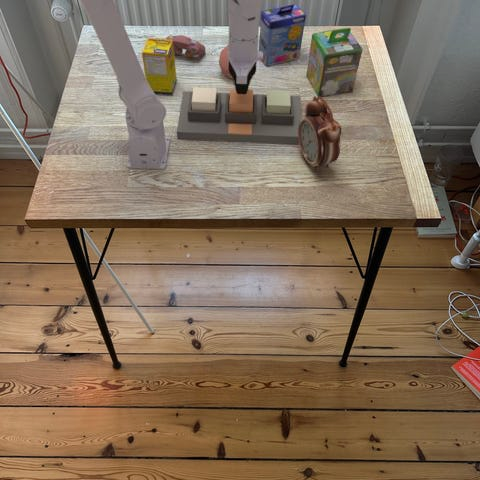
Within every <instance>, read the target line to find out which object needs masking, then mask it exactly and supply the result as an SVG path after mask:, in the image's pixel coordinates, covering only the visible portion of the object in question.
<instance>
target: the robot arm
mask: <svg viewBox="0 0 480 480" xmlns="http://www.w3.org/2000/svg"><path fill="white" fill-rule="evenodd" d="M79 1H80V3H81V4H82V6H83V9H84V11H85V14H86V15H87V17H88V19H89V21H90V24H91V26H92V28H93V29H94V31H95V32H94V33H95V34H96V36H97V38H98V40H99V42H100V45H101V47H102V49H103V51H104V53H105V55H106V57H107V59H108V62H109V63H110V66H111V68H112V70H113V72H114V74H115V76H116V77H115V78H116V79H115V80H116V82H117V83H118V91H117V92H118V97H119V99H120V100H121V101H122V103H124V105H125V107H126V109H125V116H124V117H125V120H126V122H125V123H126V126H127V132H128V138H127V143H126V147H127V151H128V153H127V154H128V156H127V161H126V164H125V165H126V168H129V169H130V168H131V169H132V168H133V169H151V170H153V169H154V170H155V169H156V170H164V169H166V167H167V166H166V165H167V161H168V154H169V148H170V142H171V137H170V136H166V134H165V126H164V120H165V118H166V116H167V115H166V114H167V108H166V106H165V105H164V103H163V102H161V101H160V99H159V98H158V95H157V94H155V93H154V92H153V90H152V89H151V87H150V85H149V84H148V82H147V80H146V77H145V72H144V71H143V68H142V66H141V64H140V62H139V59H138V57H137V54H136V51H135V49H134V47H133V44H132V42H131V40H130V37H129V35H128V33H127V30H126V27H125V25H124V22H123V21H122V18H121V15H120V13H119V11H118V9H117V6H116V4H115V1H114V0H79ZM264 1H265V0H228V44H229V51H228V60H229V66H228V70H229V73H230V74H231V76H232V78H231V79H233V83H234V89H236V93H237V94H247V91H248V90H249V87H250V83H251V81H252V78H253V77H254V76H255V74H256V72H257V64H258V63H257V61H262V59H263V52H261V51H259V34H260V17H261V11H262V10H261V9H262V5H263V3H264Z"/></svg>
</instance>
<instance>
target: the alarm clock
mask: <svg viewBox="0 0 480 480" xmlns="http://www.w3.org/2000/svg"><path fill="white" fill-rule="evenodd" d="M341 135H342V126H341V124H340V123H339V122H338V121H336V120H335V118H334V115H333V112H332V110H331V107H330V106H329V104H328V102H327V101H326V100H325V98H323V96H320V97H319V96H316V95H314V96H313V97H312V99H311V100H310V101H307V103H306V104H305V106H304V115H302V117H301V119H300V122H299V127H298V139H299V144H298V145H299V148H300V152H301V153H302V155H303V157H304V158H305V161H306V162H307V163H308V164H309V165H310V166H312V168H313V173H317V167H320V166H325V167H326V168H329V164H331V163H334V162H336V161H337V160H338V158H339V156H340V152H341Z"/></svg>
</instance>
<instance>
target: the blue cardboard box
mask: <svg viewBox="0 0 480 480" xmlns="http://www.w3.org/2000/svg"><path fill="white" fill-rule="evenodd" d="M306 18H307V14H306V13H305V11H304V10H303V9H302V8H301V7H300V6H299V5H298V4H297V3H291V4H288V5H284V6H283V5H282V6H281V7H273V8H269V9H265V10H261V12H260V23H259V37H258V51H261V52H263V59H262V60H261V62H262V63H263V65H264V66H265V67H270V66H274V65H278V64H282V63H286V62H290V61H295V60H299V59H300V56H301V55H300V54H301V49H302V43H303V42H302V41H303V36H304V30H305V25H306Z"/></svg>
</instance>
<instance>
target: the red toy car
mask: <svg viewBox="0 0 480 480" xmlns="http://www.w3.org/2000/svg"><path fill="white" fill-rule="evenodd" d="M165 39H170V40H173V47H174V55H177V56H182V54H183V52H184V55H185V56H186V57H187V58H194V57H195V56H203V55H205V53H206V46H205V45H203V44H201V42H200V41H198V40H196V39H193V38H190V37H188V36H185V35H182V34H181V35H172V34H169V35H168V36H167V37H166V38H165Z"/></svg>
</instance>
